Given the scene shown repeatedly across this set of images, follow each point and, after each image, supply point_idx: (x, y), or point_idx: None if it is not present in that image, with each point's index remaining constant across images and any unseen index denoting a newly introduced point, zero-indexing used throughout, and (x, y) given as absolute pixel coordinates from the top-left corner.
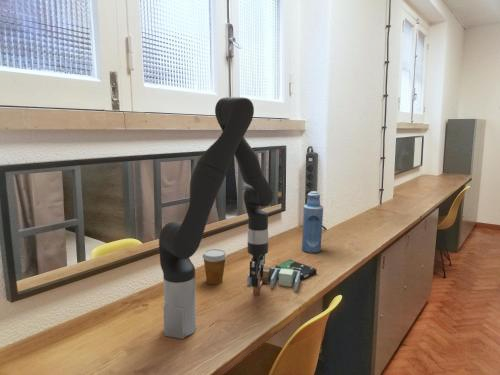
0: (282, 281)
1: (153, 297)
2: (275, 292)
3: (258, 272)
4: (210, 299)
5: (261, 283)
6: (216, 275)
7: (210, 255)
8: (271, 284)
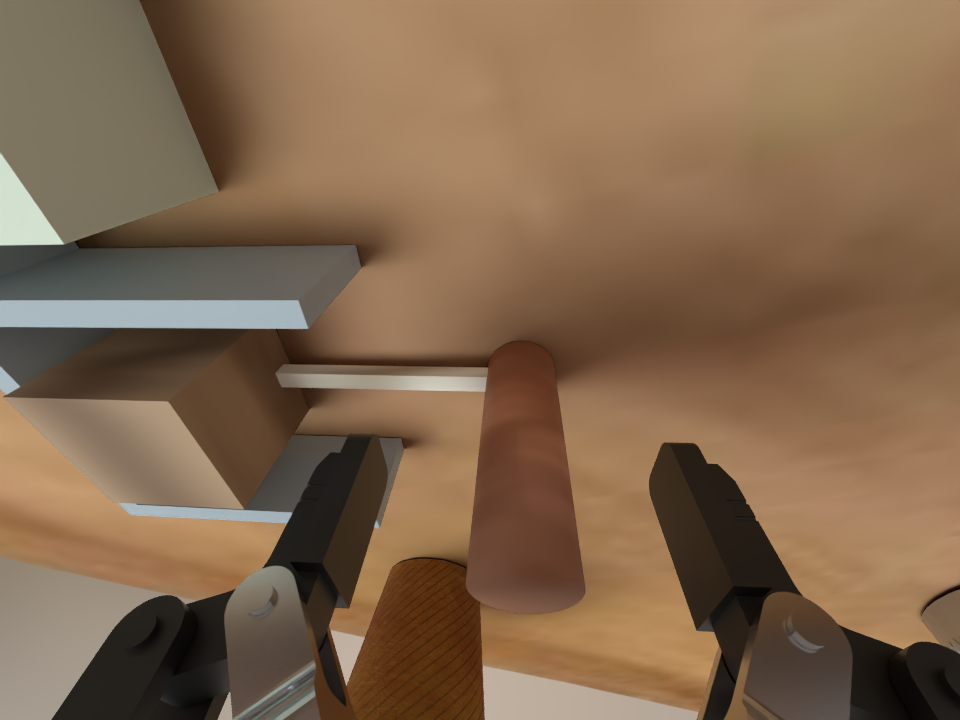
0: (148, 144)
1: (661, 676)
2: (427, 187)
3: (762, 698)
4: (666, 564)
5: (341, 373)
6: (471, 640)
7: None
8: (339, 278)
